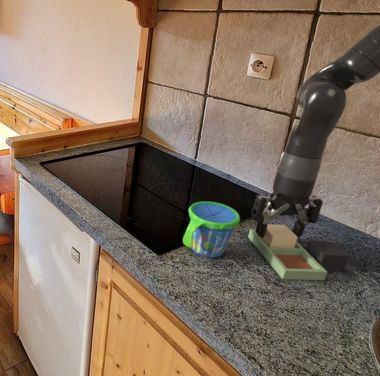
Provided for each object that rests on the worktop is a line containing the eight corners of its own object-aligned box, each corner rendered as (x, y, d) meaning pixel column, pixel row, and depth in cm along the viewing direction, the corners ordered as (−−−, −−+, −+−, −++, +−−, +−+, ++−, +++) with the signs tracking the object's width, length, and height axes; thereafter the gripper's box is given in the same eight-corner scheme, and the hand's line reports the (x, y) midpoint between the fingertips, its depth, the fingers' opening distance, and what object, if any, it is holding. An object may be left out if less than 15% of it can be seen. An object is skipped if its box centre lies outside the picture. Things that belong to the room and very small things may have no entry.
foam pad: (280, 238, 99) (285, 224, 97) (292, 251, 94) (297, 237, 92) (257, 238, 99) (261, 224, 97) (268, 251, 94) (273, 236, 92)
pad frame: (283, 237, 100) (285, 230, 99) (324, 280, 85) (327, 271, 84) (247, 236, 100) (249, 229, 100) (282, 279, 85) (285, 270, 84)
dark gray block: (328, 256, 93) (333, 241, 92) (343, 270, 88) (349, 255, 87) (303, 255, 94) (308, 240, 92) (318, 270, 88) (323, 254, 87)
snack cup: (197, 270, 87) (206, 230, 83) (164, 246, 96) (171, 208, 92) (248, 253, 94) (258, 215, 89) (212, 232, 102) (221, 196, 98)
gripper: (272, 178, 85) (254, 244, 92) (341, 180, 85) (317, 246, 92) (256, 165, 92) (240, 227, 99) (319, 167, 92) (299, 229, 99)
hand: (277, 236), depth 95 cm, fingers open, 7 cm apart
